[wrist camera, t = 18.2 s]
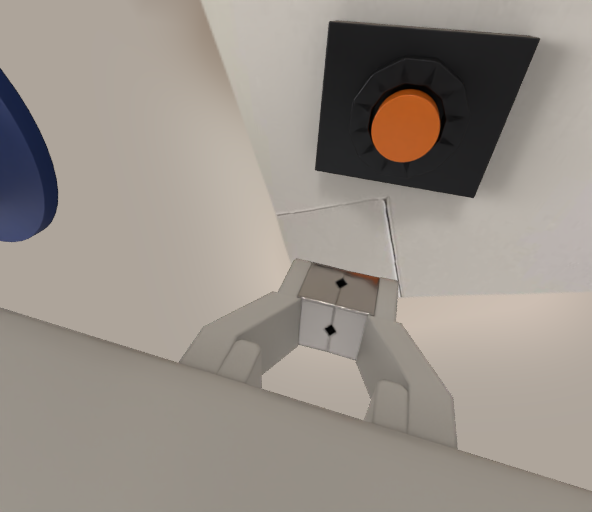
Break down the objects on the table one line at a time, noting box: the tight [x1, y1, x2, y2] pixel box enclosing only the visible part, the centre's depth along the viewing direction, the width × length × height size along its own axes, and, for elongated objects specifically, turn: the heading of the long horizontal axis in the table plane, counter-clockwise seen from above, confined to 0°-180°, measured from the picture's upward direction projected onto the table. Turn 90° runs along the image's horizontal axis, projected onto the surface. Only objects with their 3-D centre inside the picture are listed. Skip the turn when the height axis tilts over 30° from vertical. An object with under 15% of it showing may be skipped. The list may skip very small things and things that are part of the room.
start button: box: [371, 89, 440, 162], centre depth 19 cm, size 4×4×2 cm
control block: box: [315, 21, 540, 198], centre depth 21 cm, size 11×9×4 cm
